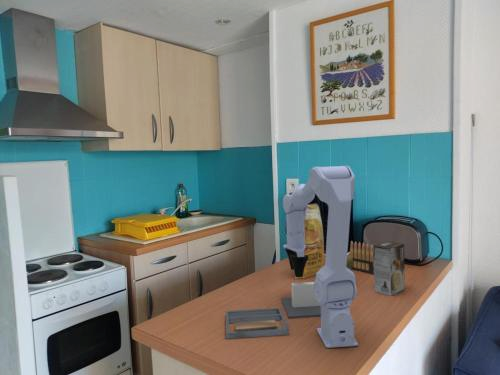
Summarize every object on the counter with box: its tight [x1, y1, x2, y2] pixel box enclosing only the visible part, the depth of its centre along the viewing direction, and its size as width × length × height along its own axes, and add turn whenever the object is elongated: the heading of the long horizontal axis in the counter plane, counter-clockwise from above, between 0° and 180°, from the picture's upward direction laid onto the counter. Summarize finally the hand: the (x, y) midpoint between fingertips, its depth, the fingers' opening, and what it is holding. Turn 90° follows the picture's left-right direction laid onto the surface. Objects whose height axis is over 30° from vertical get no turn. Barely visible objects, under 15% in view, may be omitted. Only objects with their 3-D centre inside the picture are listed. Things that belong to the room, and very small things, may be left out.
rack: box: [225, 307, 290, 340], centre depth 99 cm, size 14×17×2 cm
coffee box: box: [373, 241, 405, 297], centre depth 121 cm, size 9×6×16 cm
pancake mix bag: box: [294, 203, 325, 280], centre depth 140 cm, size 7×19×28 cm, turn 125°
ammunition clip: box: [349, 240, 374, 275], centre depth 143 cm, size 11×2×12 cm, turn 43°
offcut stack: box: [233, 320, 280, 332], centre depth 95 cm, size 4×12×2 cm, turn 95°
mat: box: [280, 296, 321, 319], centre depth 110 cm, size 14×14×1 cm
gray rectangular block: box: [291, 281, 321, 308], centre depth 110 cm, size 2×9×7 cm, turn 94°
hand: (296, 273), depth 114 cm, fingers open, 7 cm apart
